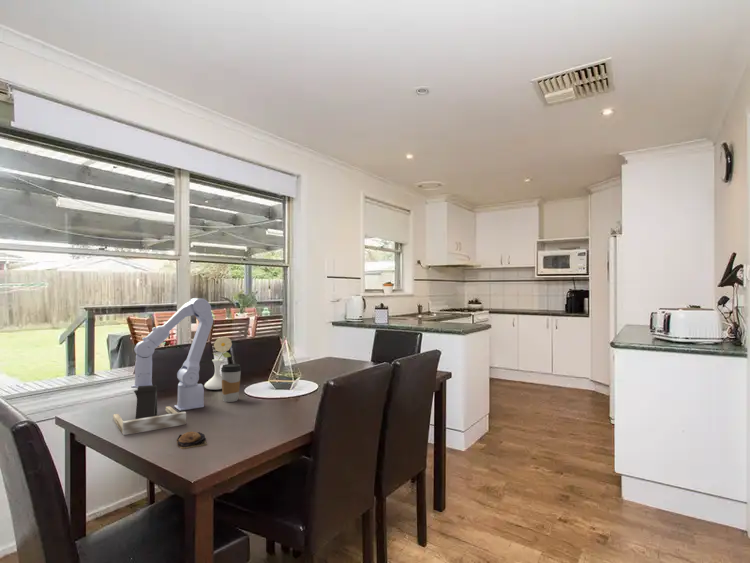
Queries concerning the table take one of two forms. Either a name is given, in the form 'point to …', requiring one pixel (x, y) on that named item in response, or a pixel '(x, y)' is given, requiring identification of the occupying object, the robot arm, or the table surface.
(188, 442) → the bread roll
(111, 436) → the table surface
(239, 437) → the table surface
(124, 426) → the bar
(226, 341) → the flower in vase
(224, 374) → the coffee cup
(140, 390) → the phone stand
